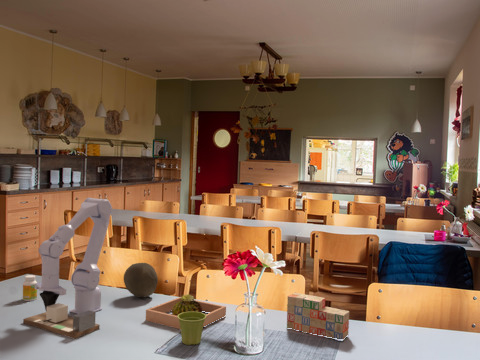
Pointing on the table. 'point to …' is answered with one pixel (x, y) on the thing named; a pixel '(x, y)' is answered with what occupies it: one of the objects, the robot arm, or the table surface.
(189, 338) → the plant pot
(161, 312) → the planter frame
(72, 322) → the gauge track
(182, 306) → the cactus
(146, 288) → the dark brown ball
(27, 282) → the supplement bottle
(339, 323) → the stack of blocks
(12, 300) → the table surface
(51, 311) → the block
